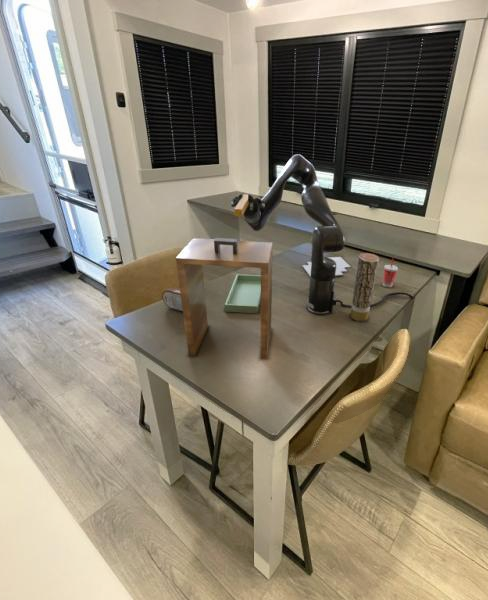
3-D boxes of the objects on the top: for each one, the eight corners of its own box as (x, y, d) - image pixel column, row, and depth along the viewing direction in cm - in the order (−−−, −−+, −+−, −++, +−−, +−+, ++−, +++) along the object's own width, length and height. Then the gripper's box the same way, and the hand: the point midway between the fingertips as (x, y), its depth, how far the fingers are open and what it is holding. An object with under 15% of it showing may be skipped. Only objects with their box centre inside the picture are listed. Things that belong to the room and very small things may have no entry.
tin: (201, 312, 123) (199, 292, 118) (196, 316, 120) (194, 296, 116) (168, 303, 126) (164, 284, 122) (162, 307, 124) (159, 287, 120)
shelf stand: (271, 329, 116) (272, 231, 99) (267, 358, 102) (268, 250, 85) (202, 326, 115) (191, 226, 97) (188, 355, 101) (173, 244, 84)
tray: (236, 280, 148) (236, 274, 146) (264, 281, 148) (264, 275, 147) (225, 311, 124) (224, 304, 123) (257, 313, 125) (257, 306, 123)
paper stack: (296, 259, 173) (296, 258, 173) (340, 256, 181) (340, 255, 180) (310, 278, 154) (310, 277, 154) (358, 274, 161) (359, 273, 161)
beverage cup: (393, 282, 156) (399, 255, 149) (394, 288, 150) (401, 260, 144) (380, 281, 156) (385, 253, 149) (381, 287, 151) (387, 258, 144)
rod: (250, 201, 126) (250, 194, 125) (242, 216, 107) (241, 209, 106) (243, 200, 126) (243, 194, 125) (234, 216, 107) (234, 209, 106)
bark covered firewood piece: (367, 323, 123) (379, 261, 111) (349, 320, 124) (358, 258, 112) (368, 314, 129) (379, 254, 117) (350, 311, 130) (360, 252, 118)
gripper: (233, 200, 137) (226, 185, 120) (267, 202, 138) (264, 187, 120) (233, 217, 137) (225, 205, 120) (266, 219, 138) (263, 208, 120)
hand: (245, 196), depth 120 cm, fingers closed on rod, 2 cm apart
